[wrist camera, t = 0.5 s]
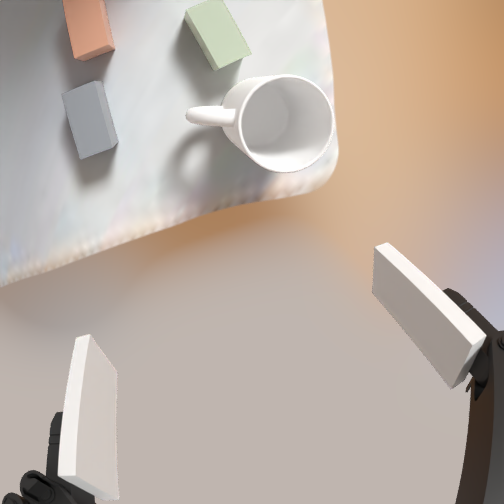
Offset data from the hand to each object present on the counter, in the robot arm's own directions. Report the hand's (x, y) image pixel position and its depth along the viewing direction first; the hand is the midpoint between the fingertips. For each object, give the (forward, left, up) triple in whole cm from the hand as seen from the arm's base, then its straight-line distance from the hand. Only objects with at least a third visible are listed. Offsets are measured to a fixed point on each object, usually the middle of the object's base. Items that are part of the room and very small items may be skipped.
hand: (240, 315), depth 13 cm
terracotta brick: (-19, -7, -25) cm, 32 cm away
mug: (-5, +6, -25) cm, 26 cm away
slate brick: (-9, -9, -25) cm, 28 cm away
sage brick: (-14, +5, -25) cm, 29 cm away
